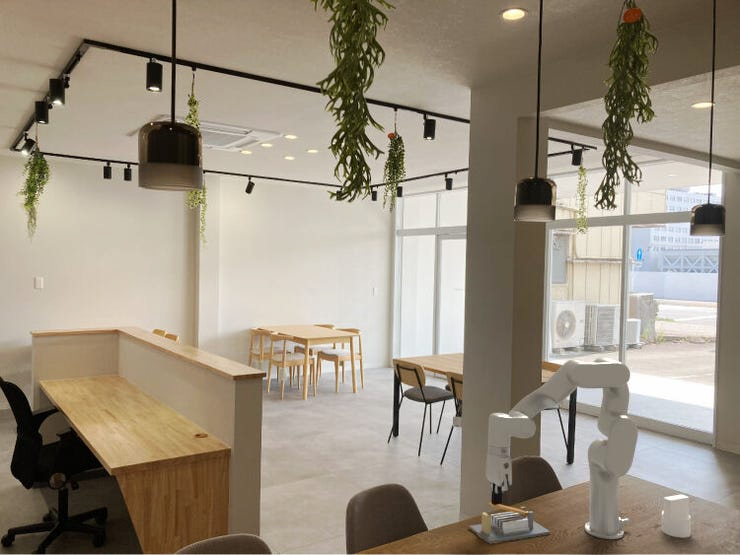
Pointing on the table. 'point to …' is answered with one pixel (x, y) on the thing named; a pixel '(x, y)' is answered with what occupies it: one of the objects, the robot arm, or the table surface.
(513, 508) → the strap
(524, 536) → the cpu board
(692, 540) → the table surface
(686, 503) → the white tapered canister
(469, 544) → the table surface
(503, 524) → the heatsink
